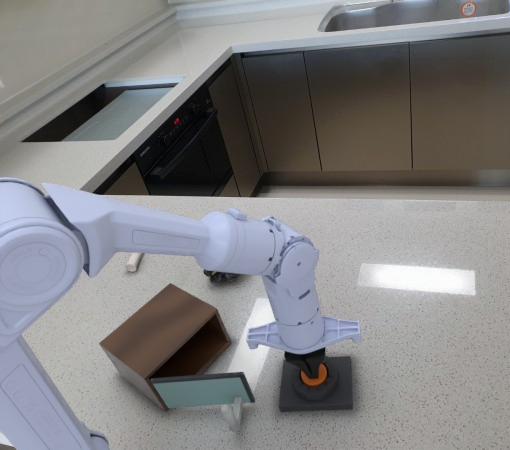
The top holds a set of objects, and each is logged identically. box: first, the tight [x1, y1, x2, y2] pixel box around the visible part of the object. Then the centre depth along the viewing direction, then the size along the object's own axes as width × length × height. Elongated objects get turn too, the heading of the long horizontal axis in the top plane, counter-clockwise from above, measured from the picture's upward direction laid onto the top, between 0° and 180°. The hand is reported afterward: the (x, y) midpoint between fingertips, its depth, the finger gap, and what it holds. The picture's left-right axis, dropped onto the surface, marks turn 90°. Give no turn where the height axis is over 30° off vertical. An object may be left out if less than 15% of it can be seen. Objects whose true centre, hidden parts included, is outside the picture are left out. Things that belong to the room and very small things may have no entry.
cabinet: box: [98, 283, 233, 412], centre depth 71 cm, size 12×14×8 cm
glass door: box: [151, 371, 256, 433], centre depth 61 cm, size 5×13×7 cm, turn 88°
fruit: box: [202, 269, 239, 284], centre depth 88 cm, size 9×8×15 cm
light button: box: [301, 364, 328, 387], centre depth 64 cm, size 4×4×2 cm
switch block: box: [278, 355, 354, 412], centre depth 65 cm, size 10×8×3 cm
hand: (313, 372), depth 64 cm, fingers closed, pressing on light button
